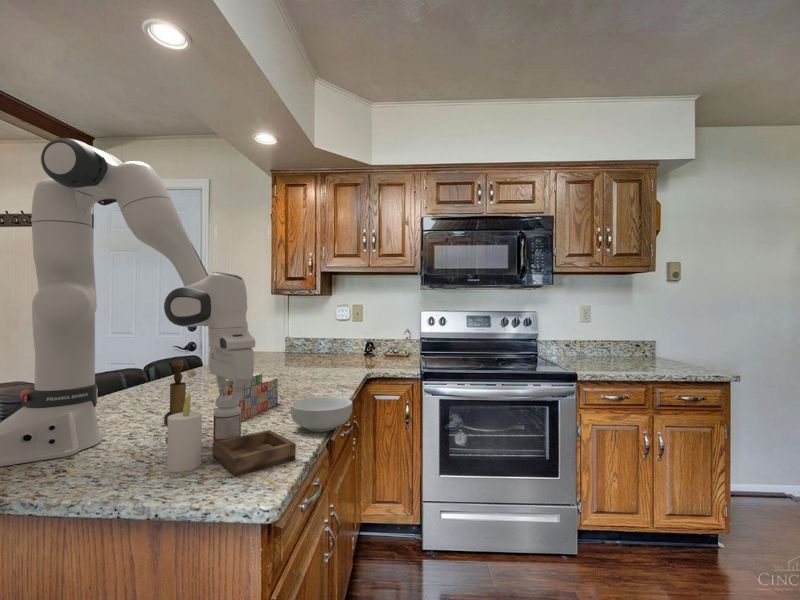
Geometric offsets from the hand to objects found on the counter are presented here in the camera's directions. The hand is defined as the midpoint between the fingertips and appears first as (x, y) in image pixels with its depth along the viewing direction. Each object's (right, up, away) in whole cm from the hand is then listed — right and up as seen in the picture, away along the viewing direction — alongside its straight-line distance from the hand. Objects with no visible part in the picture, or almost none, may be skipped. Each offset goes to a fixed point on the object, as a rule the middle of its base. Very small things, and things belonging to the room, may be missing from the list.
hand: (230, 396), depth 96 cm
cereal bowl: (+20, -12, +13) cm, 27 cm away
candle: (-4, -12, -13) cm, 18 cm away
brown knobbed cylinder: (-23, -12, +18) cm, 32 cm away
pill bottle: (-1, -12, 0) cm, 12 cm away
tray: (+9, -11, -10) cm, 18 cm away
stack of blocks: (-6, -13, +29) cm, 33 cm away
